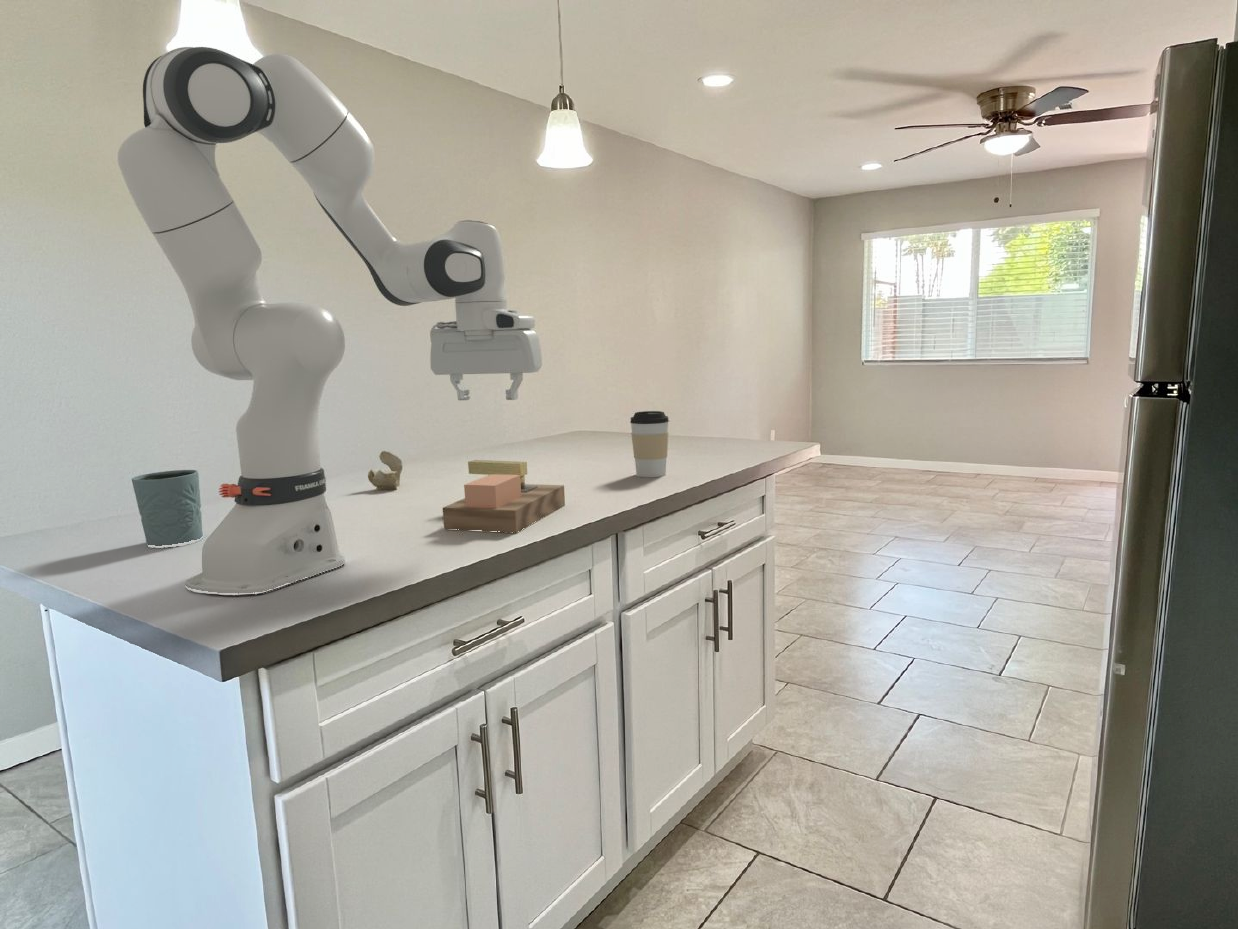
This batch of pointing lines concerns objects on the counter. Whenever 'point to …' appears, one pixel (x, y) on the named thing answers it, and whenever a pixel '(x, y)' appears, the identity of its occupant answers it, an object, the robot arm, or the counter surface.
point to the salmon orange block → (492, 491)
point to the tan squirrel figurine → (387, 472)
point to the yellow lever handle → (499, 468)
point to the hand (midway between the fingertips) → (487, 399)
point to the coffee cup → (650, 443)
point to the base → (507, 511)
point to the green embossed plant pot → (169, 506)
